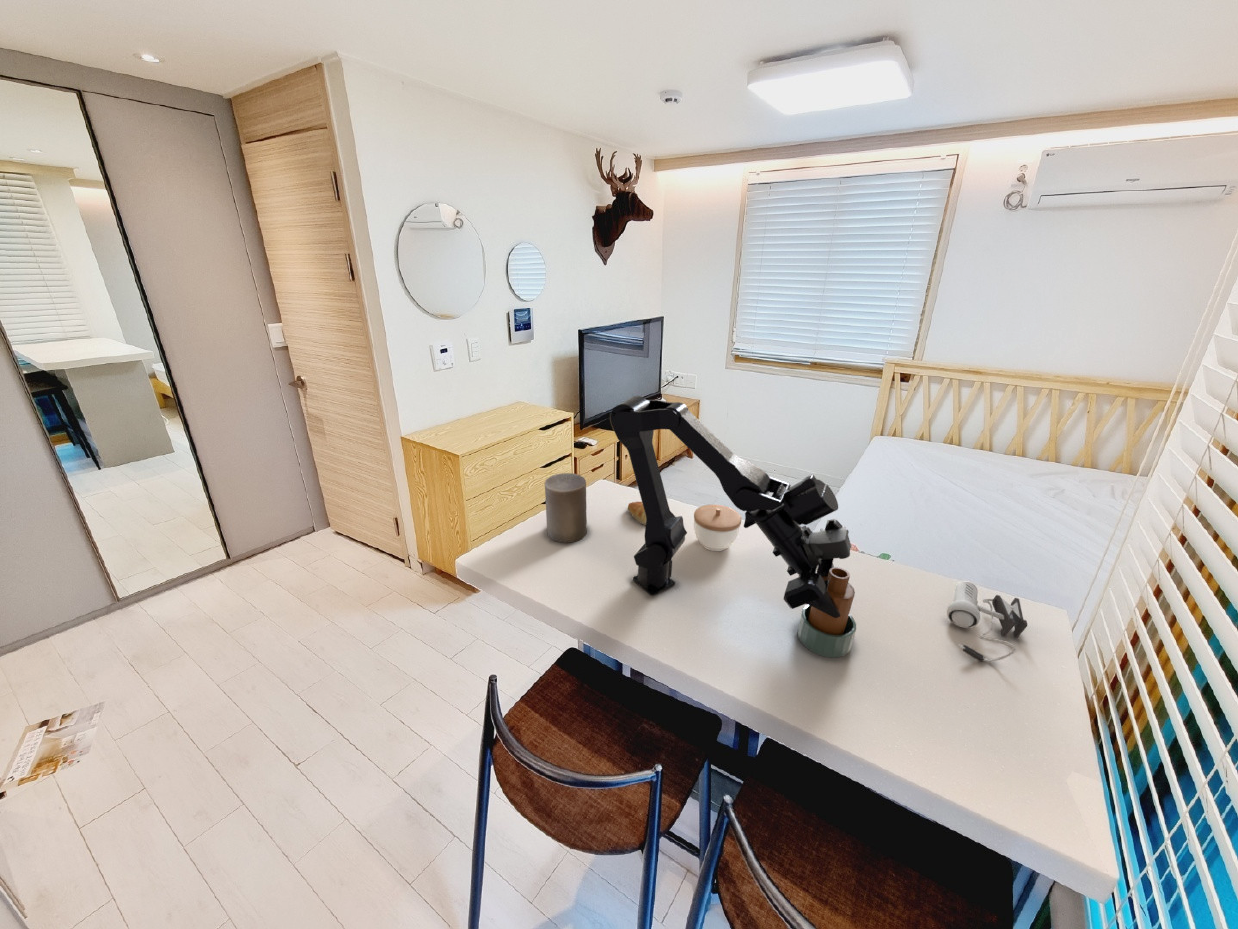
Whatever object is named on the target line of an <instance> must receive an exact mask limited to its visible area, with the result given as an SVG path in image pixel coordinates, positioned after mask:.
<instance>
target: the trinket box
mask: <svg viewBox="0 0 1238 929" xmlns="http://www.w3.org/2000/svg"><path fill="white" fill-rule="evenodd" d="M741 524H742V516H741V514H740V513H739V512H738V511H737V510H736V509H734V508H732V507H730V506H726V505H722V504H715V503H713V504H705V505H701V506H699V507H698V508H696V509H695V510H694V513H693V531H694V535H695V537H696V539H697V541H698V542H699V543H700V545H701V546H702V547H703V548H705V549H706V550H708V551H711V552H723V551H725V550H726V549H727V548H729V547H731V546H732V545H733V544H734V543H735V542H736V540H737V539H738V536H739V534H740V529H741Z"/></svg>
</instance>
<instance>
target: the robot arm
mask: <svg viewBox="0 0 1238 929" xmlns="http://www.w3.org/2000/svg"><path fill="white" fill-rule="evenodd" d="M609 422H610V425H611V427H612V430H613V432H614V434H615V436H616V438H617V440H618V441H619V442H620V444H622V445H623V446H624V447H625V449H626V451H627V452H628V456H629V460H630V463H631V467H632V471H633V475H634V477H635V482H636V486H637V488H638V493H639V496H640V500H641V502H642V504H643V507H644V511H645V515H646V525H645V529H644V543H643V544H642V546H641V547H640V548H639V549H638V551H637V552H636V553H635V554H634V555H633V559H634V562H635V565H636V566H638V567H637V575H635V576H633V577H632V581H633V582H634V583H636V584H637V585H638V586H639V587H640V588H642V589H643V590H644V591H645V592H647V593H648V594H649V596H655V595H657V594H659V593H661V592H663V591H665V590H667V589H670V588H671V587H673V586H675V585H676V581H675V580H674V579H672V572H673V560H672V559H673V557H674V556H676V553H677V552H678V551H679V550H680V548H681V547H682V546H683V544H684V543H685V540H686V536H687V534H688V532H687V530H686V528H685V525H684V518H683V516H682V515H678V516H676V515H674V513H673V512H672V511H671V510H670V506H669V502H668V498H667V494H666V491H665V487H664V483H663V479H662V475H661V471H660V467H659V464H658V459H657V456H656V452H655V448H654V444H653V440H654V439H653V438H654V431H658V430H669V431H670V432H671V433H672V434H673V435H674V436H676V438H677V439H678V440H680V441H681V442H682V443H683V444H684V445H685V447H687V448H688V449H689V450H690V451H691V452H692V453H693V454H694V455H695V456H696V457H697V458H698V459H699V460H700V461H701V462H702V463H703V464H704V465H705V466H706V467H707V468H708V469H709V470H710V471H711V472H713V474H714V475H715V476H716V477H717V479H718V481H719V483H720V485H721V487H722V490H723V492H724V493H725V495H726V496H727V497H728V498H729V500H730V501H731V503H732V505H733V506H735V508H737V509H738V510H740V511H741V512H744V523H743V528H745V529H748V528H750V527H752V526H754V525H756V526H757V527H758V528H759V529H760V531H761V532H762V534H763V535H764V536H765V537H766V539H767V540H768V541H769V543H770V544H771V545H772V546H773V550H772V554H773V555H774V557H776V558H777V557H781V558H782V559H783V561H784V562H785V563H786V565H787V569H786V572H787V573H788V575H789V576H790V577H791V576H794V575H795V574H797V575H798V577H796V578H793V579H791V580H789V581H788V583H787V585H786V588H785V590H784V594H783V600H784V602H785V603H786V604H787V606H788V607H789V608H790V609H792V610H794V609H797V608H799V607H801V606H804V605H810V606H812V607H814V608H816V609H818V610H820V611H822V612H824V613H826V614H828V615H830V616H832V617H834V618H838V617H840V616H841V614H840V612H839V610H838V608H837V606H836V605H835V603H834V601H833V600H832V598H831V596H830V595H829V593H828V591H827V589H828V584H829V580H826V581H824V579H823V578H822V577H827V576H828V573H829V569H831V568H832V567H835V566H834V560H835V559H840V560H845V559H847V558H849V557H850V556H851V549H852V544H851V543H852V542H851V540H850V537H849V531H850V530H848V529H847V528H846V526H845V525H842V524H841V523H840V522H839V520H838V519H837V518H832V519H827V521H826V524H825V527H824V529H823V528H820V530H819V531H814V532H813V531H812V530H811V528H810V527H809V526H807V525H809V524H811V523H814V522H815V521H818V520H820V519H822V518H824V517H826V516H828V515H830V514H832V513H834V512H836V511H838V510H839V503H838V500H837V497H836V495H835V493H834V492H833V490H832V488H831V487H830V486H829V485H828V484H826V483H825V482H824V481H823V480H821V479H817V477H816V476H815V475H814V474H812V473H811V474H810V475H808V476H805V477H804V478H803V479H802V480H800V481H798V482H797V483H796V484H794V485H791V484H790V482H789V483H788V482H786V481H783V480H781V479H777V478H775V477H771V476H770V475H769V474H768V473H766V472H765V471H764V470H763V469H761V468H759V467H758V466H757V465H756V464H754V463H753V462H751V461H749V460H746V459H743V458H741V457H739V456H738V455H736V454H735V453H733V452H732V451H731V449H729V448H728V447H727V446H726V445H725V444H724V443H723V442H722V441H721V440H720V439H719V438H718V437H717V436H716V434H713V432H712V431H711V430H709V428H707V427H706V426H705V425H704V424H703V423H702V421H700V420H699V419H698V418H697V416H695V415H694V414H693V413H692V412H691V411H690V410H689V408H688V406H687V405H686V404H685V403H683V402H680V401H676V402H670V401H666V400H661V399H647V398H645V397H643V396H641V395H635V396H632V397H629V398H627V399H626V400H624V401H622V402H621V403H619V404H617V405H615V406H614V407H613V409H612V410H611V413H609ZM770 493H772V495H771V496H769V495H770ZM801 525H803V526H801Z"/></svg>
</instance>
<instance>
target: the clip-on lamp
mask: <svg viewBox="0 0 1238 929" xmlns="http://www.w3.org/2000/svg"><path fill="white" fill-rule="evenodd" d="M978 593H979V590H978V587H977V585H976V584H974V583H973V582H971V581H968V580H961V581H959V582H957V583H956V585H955V588H954V593H953V598H952V602H951V603H950V604H949V605H948V606H947V610H946V616H947V619H948V620H949V621H950V622H951V623H952V624H953V625H955V626H957V627H958V628H959V627H960V628H963V629H972V628H974V627H976V626H977V625H978V624H979V622H980V620H981V613H982V614H986V615H989V616H990V623H991V628H990V629H989V630H988V631H985V632H984V633H981V634H980V635H979V636H978V638H979V639H981V640H984V641H988V642H994V643H1000V644H1004V645H1008V646H1010V647H1012V651H1011V652H1009V653H1007V654H1004V655H1002V656H999V657H996V658H995V657H994V658H986V657H984V655H983V654H981V653H980V652H978V651H976V650H975V649H973V648H972V647H970V646H968V645H967V644H963V645H961V644H960V643H959V644H958V647H959V648H961V649H962V652H964V653H966V654H967V655H969V656H970V657H972V658H974V659H975V660H978V661H979V662H997V661H1000V660H1004V659H1006V658H1008V657H1010V656H1012V655H1014V654H1015V652H1016V650H1017V648H1016V646H1015V645H1014V643H1011V642H1009V641H1005V640H1002V639H997V638H992V637H986V635H988V634H990V633H991V632H992V631H993V630H994V626H995V625H994V618H996V619H998V622H999V624H1000V626H1001V629H1000V633H1001V636H1002V637H1007V636H1008V634H1009V633H1010V632H1011V631H1012V630H1013V629H1014V630H1013V632H1012V635H1013V638H1014V639H1018V638H1019V637H1020V636H1021V635H1022V633H1023V632H1024V631H1025V630H1026V628H1027V627H1028V621H1027V620H1026V619H1024V615H1023V611H1022V606H1021V601H1020V599H1019V597H1014V599H1013V600H1012V601H1011V603H1008V601H1006V600H1005V599H1003V598H1002V596H1001V595H1000V594H996V595H995V596H994V598H985V599H982V603H984V604H988V605H989V608H990V609H989V608H986V607H983V606H980V605H978V603H979V601H978ZM980 612H981V613H980Z"/></svg>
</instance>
